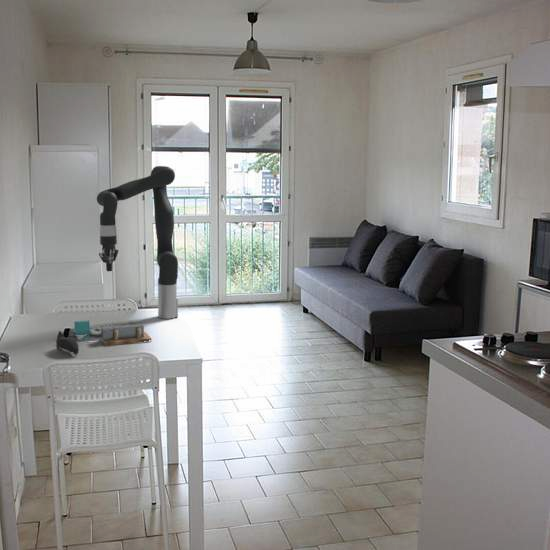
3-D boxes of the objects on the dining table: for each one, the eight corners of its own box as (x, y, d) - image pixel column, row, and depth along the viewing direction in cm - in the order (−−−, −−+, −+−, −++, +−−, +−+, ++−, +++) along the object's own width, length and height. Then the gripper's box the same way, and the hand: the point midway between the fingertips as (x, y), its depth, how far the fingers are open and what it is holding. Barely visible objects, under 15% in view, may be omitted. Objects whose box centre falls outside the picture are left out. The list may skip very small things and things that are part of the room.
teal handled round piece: (74, 332, 323) (74, 319, 322) (106, 330, 327) (106, 317, 326) (74, 336, 315) (74, 323, 314) (107, 335, 319) (107, 322, 318)
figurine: (52, 356, 297) (68, 358, 286) (49, 332, 297) (65, 333, 285) (69, 353, 302) (85, 355, 291) (66, 329, 302) (82, 330, 290)
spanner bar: (141, 334, 319) (141, 323, 318) (144, 337, 314) (144, 326, 313) (101, 337, 312) (100, 326, 311) (103, 340, 307) (102, 329, 306)
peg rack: (145, 335, 323) (145, 323, 322) (151, 341, 313) (151, 329, 312) (101, 339, 315) (100, 326, 314) (105, 345, 305) (105, 332, 304)
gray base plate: (105, 328, 333) (105, 327, 333) (112, 338, 317) (112, 337, 317) (72, 330, 327) (72, 330, 327) (78, 341, 311) (78, 340, 311)
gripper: (106, 236, 322) (107, 274, 325) (123, 233, 334) (124, 269, 337) (92, 235, 325) (94, 272, 328) (109, 232, 337) (110, 268, 340)
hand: (109, 271), depth 333 cm, fingers closed
